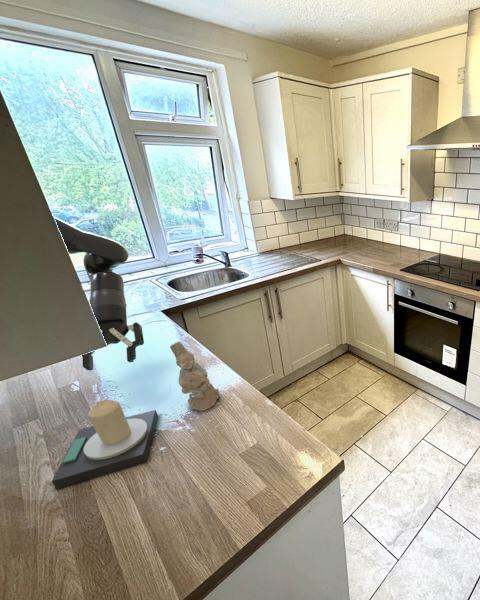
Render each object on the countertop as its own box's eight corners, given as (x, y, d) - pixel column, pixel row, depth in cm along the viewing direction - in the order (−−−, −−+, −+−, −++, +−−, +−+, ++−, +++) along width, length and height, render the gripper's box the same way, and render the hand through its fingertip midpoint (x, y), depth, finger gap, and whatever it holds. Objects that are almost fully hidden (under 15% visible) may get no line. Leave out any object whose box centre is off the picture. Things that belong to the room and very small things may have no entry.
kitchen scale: (55, 489, 70) (49, 478, 69) (83, 436, 83) (78, 426, 82) (146, 461, 76) (142, 451, 75) (158, 416, 89) (154, 407, 88)
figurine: (186, 399, 96) (167, 340, 88) (218, 388, 100) (202, 331, 92) (188, 417, 89) (167, 355, 81) (222, 405, 93) (206, 345, 85)
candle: (107, 448, 76) (90, 415, 72) (98, 438, 78) (82, 405, 74) (134, 433, 80) (121, 401, 76) (125, 424, 83) (111, 392, 79)
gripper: (66, 308, 84) (66, 369, 79) (134, 299, 89) (138, 355, 85) (82, 318, 90) (82, 375, 85) (144, 309, 96) (148, 362, 91)
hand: (110, 365), depth 85 cm, fingers open, 8 cm apart
